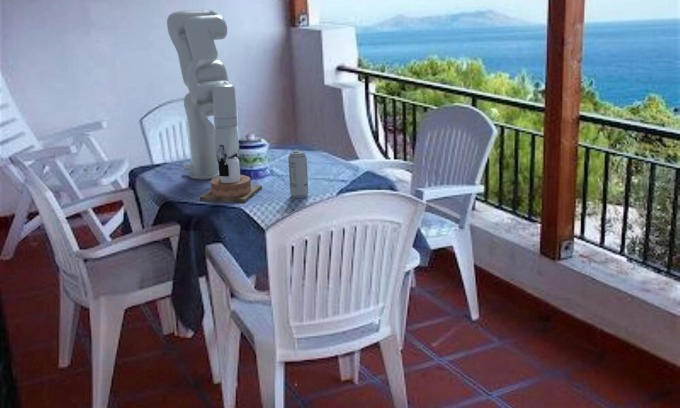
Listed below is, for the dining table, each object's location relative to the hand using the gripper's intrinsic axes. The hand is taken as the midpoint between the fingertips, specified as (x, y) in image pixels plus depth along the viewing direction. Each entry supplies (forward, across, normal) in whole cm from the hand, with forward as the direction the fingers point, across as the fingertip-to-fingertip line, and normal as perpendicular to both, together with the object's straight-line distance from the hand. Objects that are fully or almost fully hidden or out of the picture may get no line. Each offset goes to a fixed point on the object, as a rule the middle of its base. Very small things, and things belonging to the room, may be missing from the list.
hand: (229, 172), depth 246 cm
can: (+7, 0, 0) cm, 7 cm away
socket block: (+8, 0, 0) cm, 8 cm away
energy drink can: (+8, -2, +24) cm, 25 cm away
